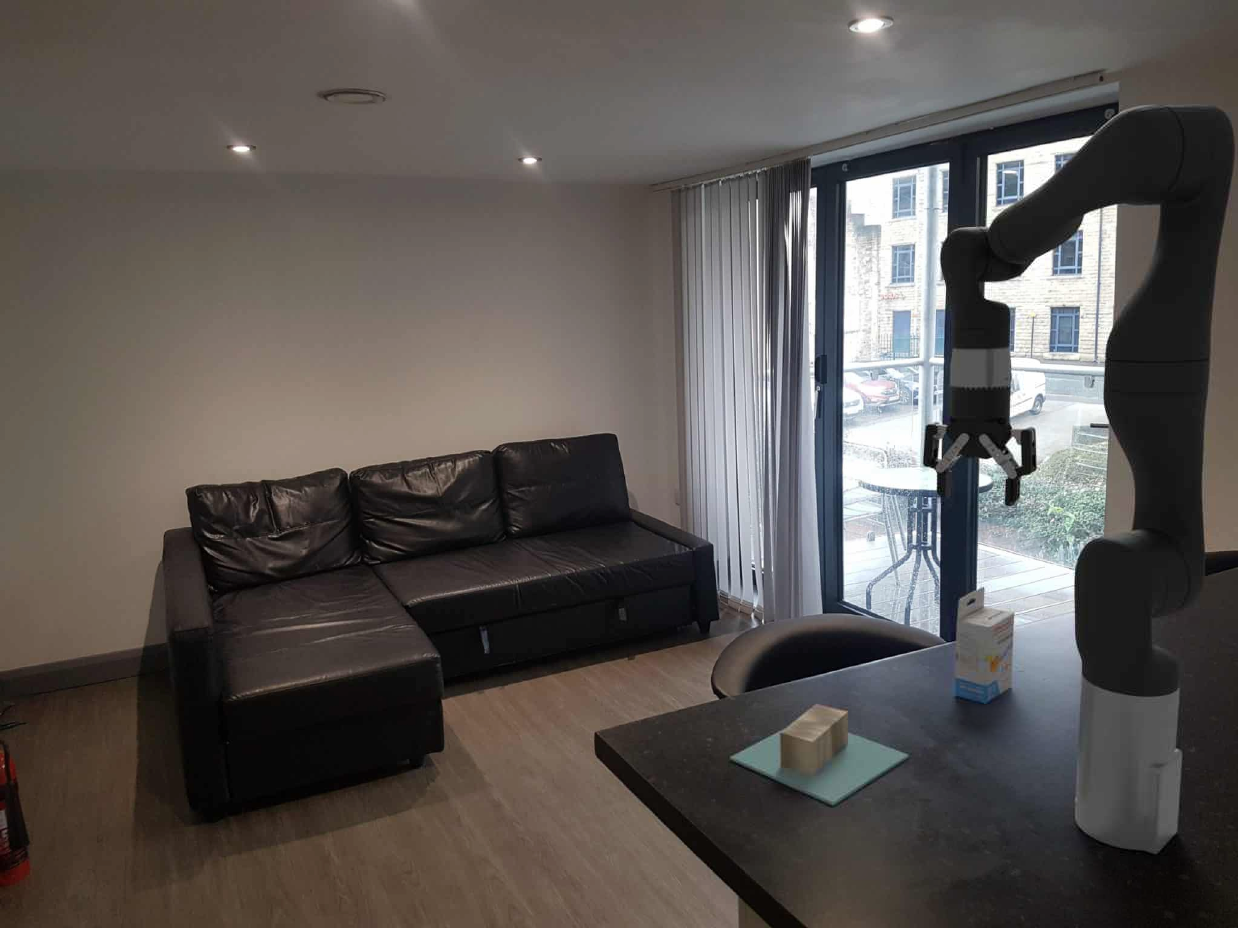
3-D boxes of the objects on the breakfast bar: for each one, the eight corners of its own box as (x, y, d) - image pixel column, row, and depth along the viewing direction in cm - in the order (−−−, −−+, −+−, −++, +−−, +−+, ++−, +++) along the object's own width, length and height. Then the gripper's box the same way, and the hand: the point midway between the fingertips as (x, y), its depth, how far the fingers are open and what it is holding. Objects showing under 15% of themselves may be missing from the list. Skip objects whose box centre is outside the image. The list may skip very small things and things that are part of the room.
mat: (908, 757, 121) (908, 754, 121) (833, 805, 111) (833, 802, 111) (806, 719, 133) (806, 716, 133) (730, 759, 123) (730, 756, 123)
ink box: (987, 705, 135) (989, 606, 132) (953, 696, 139) (955, 599, 136) (1013, 686, 141) (1016, 591, 138) (980, 678, 144) (982, 585, 142)
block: (847, 711, 124) (812, 741, 116) (847, 743, 125) (813, 775, 117) (816, 703, 127) (780, 732, 119) (816, 735, 128) (780, 765, 120)
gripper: (916, 383, 127) (915, 502, 130) (1028, 386, 118) (1024, 513, 121) (937, 378, 133) (935, 491, 136) (1045, 380, 124) (1040, 501, 127)
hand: (977, 501), depth 128 cm, fingers open, 8 cm apart
